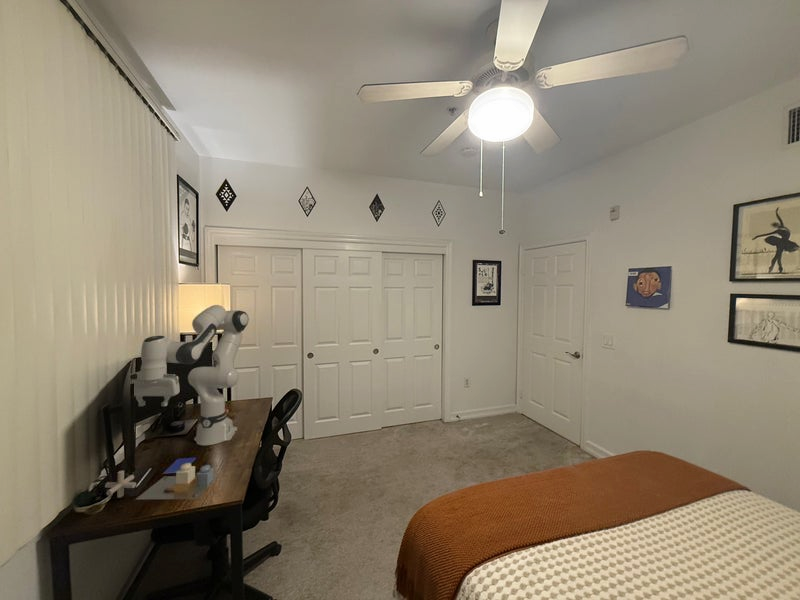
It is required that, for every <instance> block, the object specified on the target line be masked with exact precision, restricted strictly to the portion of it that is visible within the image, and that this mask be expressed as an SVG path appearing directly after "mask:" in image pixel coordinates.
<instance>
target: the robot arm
mask: <svg viewBox="0 0 800 600" xmlns="http://www.w3.org/2000/svg"><path fill="white" fill-rule="evenodd" d="M248 315H249V314H248V313H247V312H246V311H244V310H226V308H225V307H223V306H222V305H219V304H214V305H211V306H209V307H207V308H206V309H204V310H202V311H201V312H200V313H199V314H197V315H196V316H195V317H194V318H193V319H192V322H191V326H192V329H193V330H194V331H195V333H197V336H196V338H195V339H194V340H191V341H174V340H170V339H168V338H166V337H165V336H164V335H153V336H148V337H146V338H144V340H143V341H142V345H141V349H140V350H141V351H140V358H141V361H142V362H141V366H140V370H138V371H137V372H135V371H134V372H132V373H129V374H130V378H131V379H132V381H133V383H134V396H133V397H135V399H136V401H137V402H138V407H144V406H146V400H144V399H143V397H163V399H164V400H163V401H162V402H161V403H160V404H161V405H160V406H161V407H167V406H168V404H169V400H170V398H171V397H175V396H176V395H179V393H180V382H179V381H180V378H179V376H178V375H177V374H175V373H173V374H172V373H168V372H167V366H168V365H167V363H172V364H182V365H183V364H184V365H193V364H194V363H196V362H198V360H199V359H200V358H201V356H202V353H203V352H204V350H205V349H206V348H207V347H208V345H209V344H210V342H211V341H212V340H213V338H214V337H215V335H216V334H217V332H218V331H223V334H222V336H221V337H220V339H219V340H218V342H217V345H216V346H215V349H214V350H213V352H212V357H213V359H214V361H215V362H217V363H216V364H217V365H216V366H198V367H195V368H193V369H190V370H191V371H189V373H188V375H187V381H188V383H189V385H190V386H192V387H193V388H194V390H195V391H196V393H197V394H198V397H199V399H200V415H199V423H198V424H197V428H196V436H195V437H194V438H193V440H194V441H195V442H196V444H197V445H199V446H210V445H211V446H212V445H217V444H220V443H223V442H227V441H230V440H232V438H233V436H234V435H235V433H236V432H237V431H238V427H237V426H234V424H233V423H234V422H233V420H232V419H231V418H229V417H228V416H227V414H228V413H229V410H230V409H226V408H225V407H226V398H225V396H224V395H223V394H222V393H220V391H219V390H218V389H229V388H233V387H234V386H236V384H237V383H238V381H239V378H240V375H239V372H238V370H237V369H236V368H235V365H234V363H235V359H236V356H237V353H238V350H239V348H240V346H241V343H242V339H243V333H242V332H243V331H244V330H245V328H247V326H248V323H249V316H248ZM235 431H236V432H235Z"/></svg>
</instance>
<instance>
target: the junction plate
mask: <svg viewBox="0 0 800 600" xmlns="http://www.w3.org/2000/svg"><path fill="white" fill-rule="evenodd" d="M218 476H219V475H218ZM218 476H217V475H214V479H213V480H212V481H211V482H210V483H209V484H208V485H197V487H196V488H195V489H194V490H193V491H192V492H191V493H190V494H189V495H174V491H164V489H165V488H174V484H175V483H176V475H173V476H172V475H171V476H168V475H167V476H162V478H160V479H159V480H157V482H155V483H154V484H153V485H151V486H150V487H149V488H148V489H146V490H145V491H143V492H142V494H140V495H139V496H138V497H137V498H135V500H196V499H197V498H199V496H200V495H201V494H202V493H203V492H204V491H205V490H206V489H207V488H208V487H209V486H210V485H211V484H212V483H213V482H214V481H215V480H216V479H217V478H218ZM195 477H196V475H195Z"/></svg>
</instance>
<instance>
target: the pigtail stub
mask: <svg viewBox="0 0 800 600" xmlns="http://www.w3.org/2000/svg"><path fill="white" fill-rule="evenodd" d="M196 487H197V477H195V478H194V479H193V480H191V481H190V482H189V483H188V484H176V483H175V484H174V488H165V489H164V491H174V495H189V494H190V493H191V492H192V491H193V490H194V489H195V488H196Z"/></svg>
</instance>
